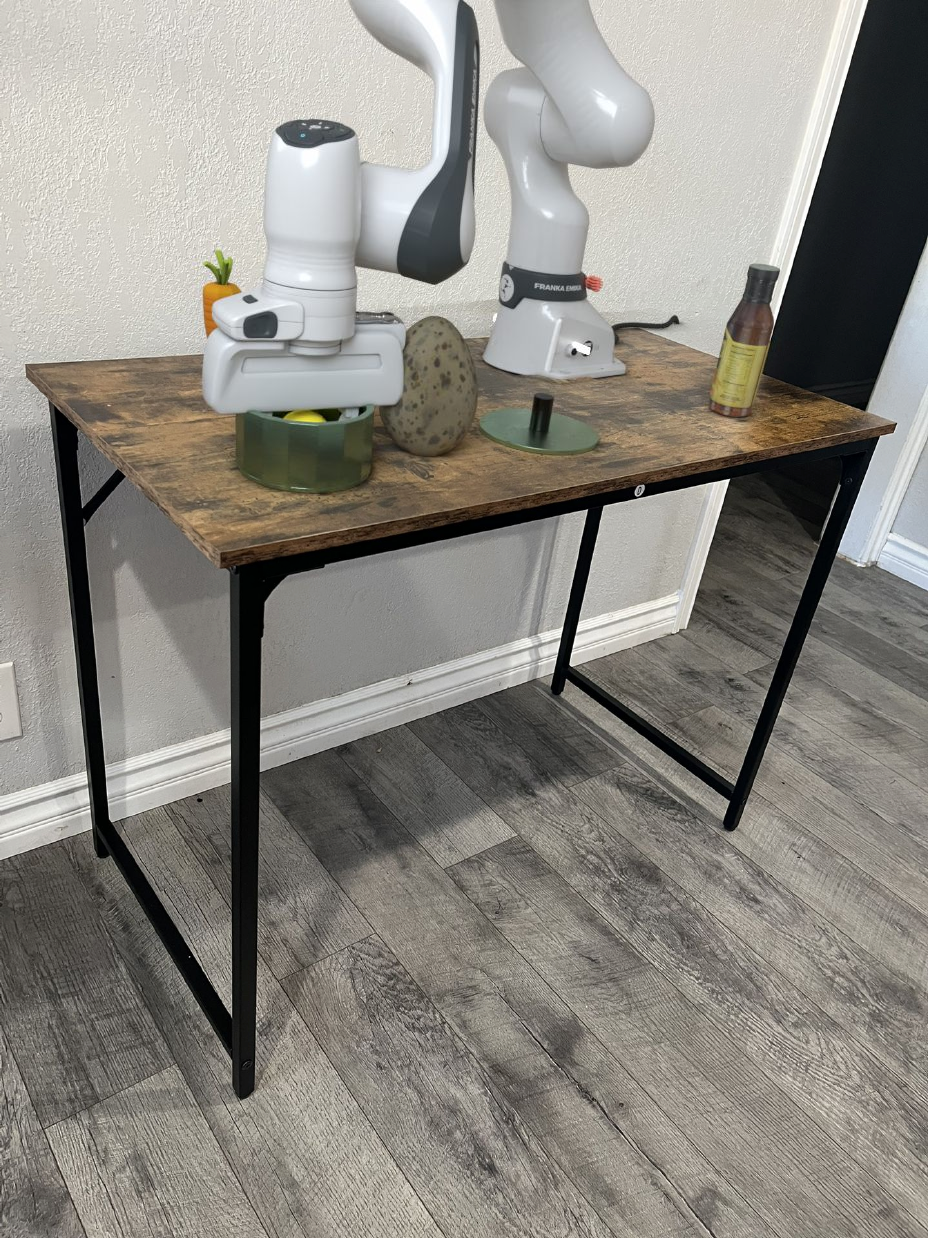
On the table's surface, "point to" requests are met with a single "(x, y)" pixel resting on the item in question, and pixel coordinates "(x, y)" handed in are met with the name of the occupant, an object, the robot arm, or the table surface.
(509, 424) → the pot lid
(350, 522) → the table surface
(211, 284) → the carrot
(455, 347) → the decorative egg
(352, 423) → the pot
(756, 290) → the sauce bottle
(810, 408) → the table surface
